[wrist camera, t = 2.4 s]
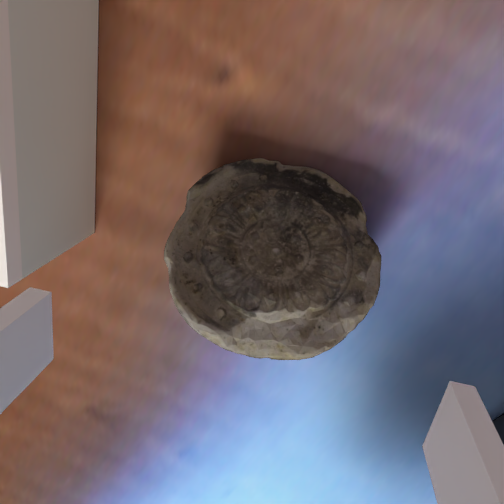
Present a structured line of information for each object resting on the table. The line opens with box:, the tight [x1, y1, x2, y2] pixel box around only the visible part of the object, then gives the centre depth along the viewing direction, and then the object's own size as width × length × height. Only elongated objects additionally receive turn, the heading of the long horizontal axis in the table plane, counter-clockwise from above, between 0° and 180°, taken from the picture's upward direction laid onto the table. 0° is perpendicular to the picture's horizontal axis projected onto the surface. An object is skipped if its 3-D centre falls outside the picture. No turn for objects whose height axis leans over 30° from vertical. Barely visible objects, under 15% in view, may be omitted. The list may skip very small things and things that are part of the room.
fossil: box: [164, 158, 381, 360], centre depth 23 cm, size 11×9×10 cm
